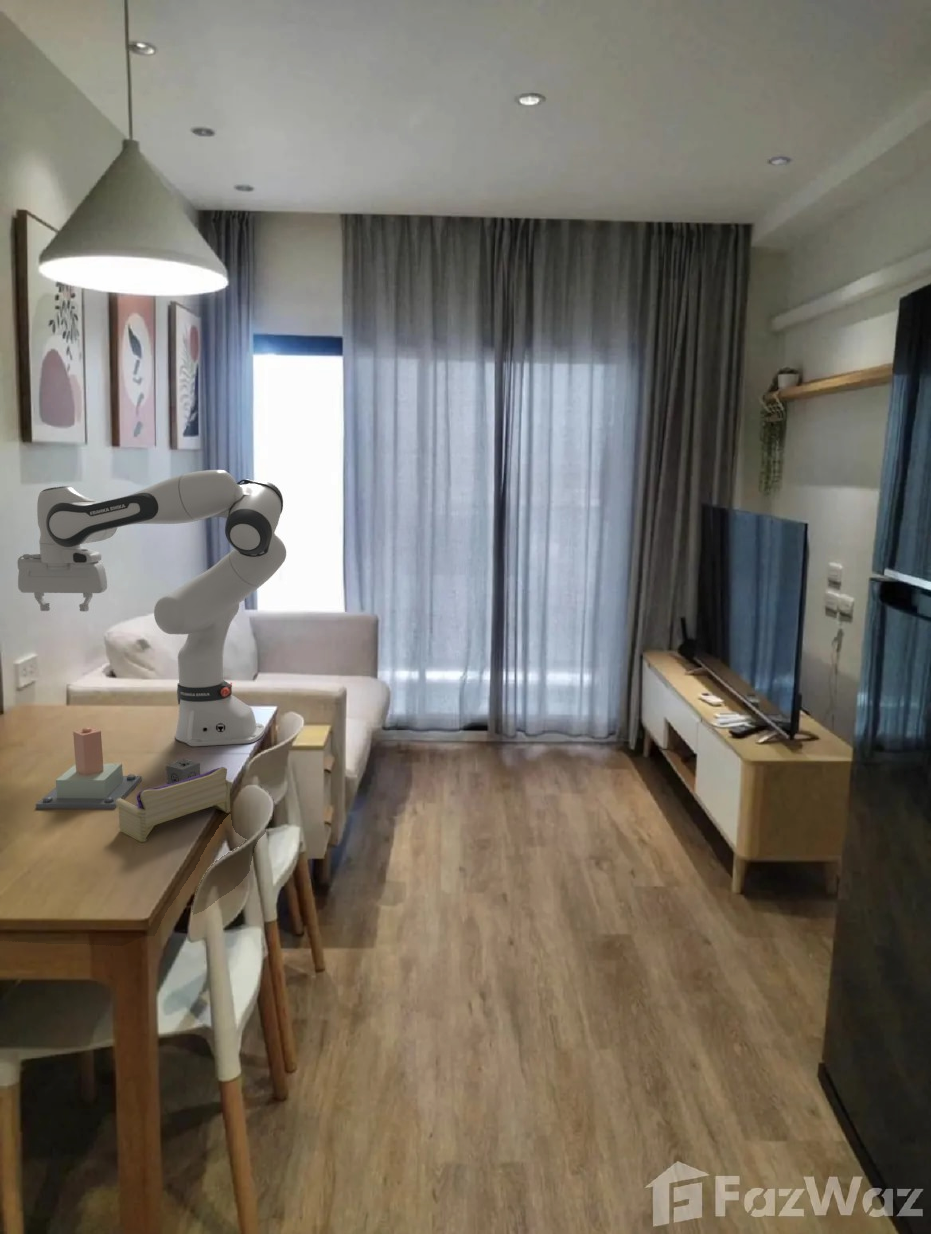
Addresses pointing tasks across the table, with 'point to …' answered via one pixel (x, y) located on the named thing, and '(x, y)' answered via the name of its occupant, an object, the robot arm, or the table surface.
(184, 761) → the dice cube
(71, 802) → the tower base
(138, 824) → the toy sofa
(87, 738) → the pillar brick
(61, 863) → the table surface
